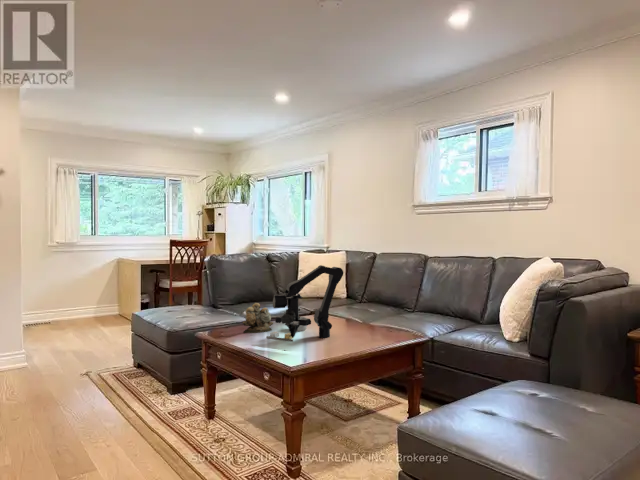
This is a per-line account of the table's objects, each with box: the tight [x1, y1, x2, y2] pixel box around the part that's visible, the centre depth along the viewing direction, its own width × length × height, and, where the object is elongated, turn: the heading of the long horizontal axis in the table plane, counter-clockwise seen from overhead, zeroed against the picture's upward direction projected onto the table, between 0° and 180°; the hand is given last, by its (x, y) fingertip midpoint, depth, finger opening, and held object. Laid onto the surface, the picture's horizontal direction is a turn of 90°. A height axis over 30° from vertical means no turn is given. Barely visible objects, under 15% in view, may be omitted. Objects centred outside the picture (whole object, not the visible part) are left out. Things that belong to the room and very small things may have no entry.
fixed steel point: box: [269, 331, 280, 338], centre depth 237 cm, size 6×3×2 cm, turn 151°
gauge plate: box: [266, 335, 294, 342], centre depth 236 cm, size 14×19×2 cm
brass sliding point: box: [284, 332, 295, 339], centre depth 233 cm, size 5×3×2 cm, turn 151°
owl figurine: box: [242, 302, 274, 334], centre depth 254 cm, size 18×12×17 cm, turn 120°
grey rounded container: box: [297, 316, 308, 332], centre depth 257 cm, size 14×11×8 cm
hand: (293, 337), depth 232 cm, fingers closed
